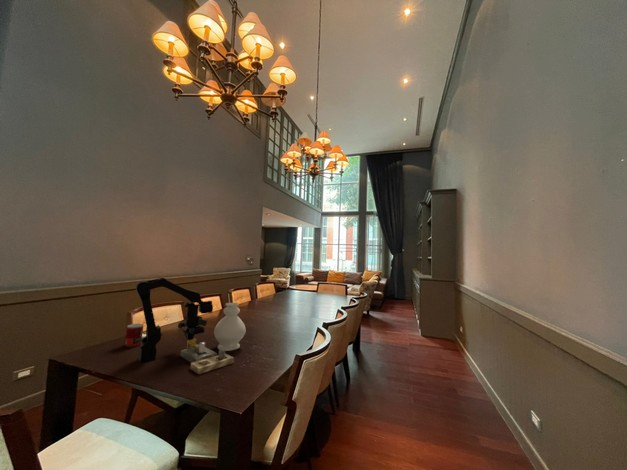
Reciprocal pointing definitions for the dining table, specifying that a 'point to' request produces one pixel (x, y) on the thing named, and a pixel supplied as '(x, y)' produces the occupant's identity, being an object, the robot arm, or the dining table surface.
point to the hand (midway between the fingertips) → (189, 343)
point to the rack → (212, 363)
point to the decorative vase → (230, 328)
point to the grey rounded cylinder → (201, 348)
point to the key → (192, 344)
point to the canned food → (134, 335)
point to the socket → (196, 354)
